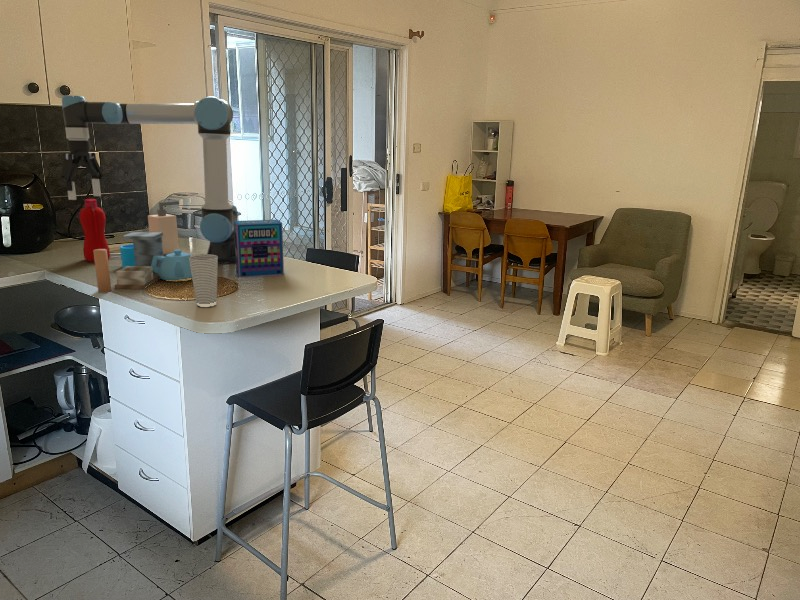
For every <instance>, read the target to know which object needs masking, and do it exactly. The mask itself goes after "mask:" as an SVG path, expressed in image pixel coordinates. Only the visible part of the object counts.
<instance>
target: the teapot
mask: <svg viewBox="0 0 800 600" xmlns="http://www.w3.org/2000/svg"><path fill="white" fill-rule="evenodd" d="M190 256H192V255H191V254H190V253H189V252H183V250H182V249H180V248H179V249H177V250H174V253H169V254H165V256H163V257H162V256H155V255H154V256H153V260H152V264H151V266H152V268H153V271H154V272H156V273H157V274H158V275H159V276H160V277H161V278H160V279H161V280H163V281H164V280H179V279H187V278H192V274H191V268H190V262H189V257H190ZM157 260H162V263H161V265H160V268H159V267H157V266H156V263H157Z"/></svg>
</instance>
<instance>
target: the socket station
mask: <svg viewBox="0 0 800 600" xmlns="http://www.w3.org/2000/svg"><path fill="white" fill-rule="evenodd" d="M162 236H163V233H156V232H149V231H147V232H146V231H145V232H144V231H131V232H129V233H126V234H124V235H122V240H129V241H131V240H132V244H133V246H134V256H135V266H126V267H124V268H123V267H122V268H120V269H118V270H116V271H115V277H116V278H115V279H116V284H115V285H114V289H117V290H118V289H119V290H127V289H128V290H145V289H146V288H145V287H146V286H148V285H149V284H151V283H153V282H154V283H156V282H157V281H159V280H161V279H162V278H161V277H160V276H159V275H158V274H157V273H156V272H154V271H153V268H152V266H151V264H152V260H153V256H154V255H155V256H162V257H164V254H163V246H162ZM161 263H162V260H157V263H156V266H157V267H159V268H160V265H161ZM158 279H159V280H158ZM155 281H156V282H155ZM154 283H153V284H154ZM151 285H152V284H151ZM148 287H149V286H148ZM144 288H145V289H144Z"/></svg>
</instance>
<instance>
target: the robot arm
mask: <svg viewBox="0 0 800 600" xmlns="http://www.w3.org/2000/svg"><path fill="white" fill-rule="evenodd" d="M61 107H62V108H61V110H62V114H63V115H62V116H63V121H64V127H65V128H64V129H65V137H66V139H67V140H66V146H67V150H68V151H69V152H70V153H64V154H63V163H62V168H61V173H60V177H59V179H60V180H61V181H62V182H65V187H66V191H67V198H68V200H69V201H71V200H72V201H76V200H77V192H76V186H75V185H76V184H75V181H74V178H75V176H76V173H77V171H78V168H80V167H81V166H82V167H85V168H86V170H87V171H88V173H89V174H90V176H91V177H92V178H91V184H92V185H91V186H92V193H93V197H101V196H102V193H101V180H102V179H103V177H104V173H103V170H102V168H101V167H100V164H99V162H98V160H97V157H96V154H95V152H91V150H92V148H91V142H90V140H89V139H90V132H89V126H88V124H107V125H108V124H109V125H135V124H136V125H137V124H138V125H139V124H140V125H141V124H142V125H144V124H145V125H149V124H150V125H156V124H157V125H197V134H198V135H199V137H201V138H202V149H203V150H202V151H203V155H202V157H203V175H204V176H203V179H204V180H203V181H204V204H202V205H201V206H200V207H201V220H200V223H199V231H200V233H201V235H202V237H204V239H205V240H207V241H208V242H209V244H208V248H207V252H206V254H212V255H216V256H218V264H234V263H236V257H235V239H234V221H239V220H238V209H237V207H236V205H231V204H230V203H229V183H228V182H229V181H228V152H227V151H228V150H227V149H228V148H227V145H228V144H227V139H229V137H230V136H231V123H232V121H233V117H234V111H233V108H232V106H231V105H230V104H229V103H228V102H227V101H226V100H225V99H223V98H220V97H219V96H218V97H217V96H213V95H211V96H210V95H209V96H206V97H202V99H200V100H197V101H195V103H118V102H112V101H86V99H85V97H84V96H83V95H71V94H67V95H63V96H62V97H61ZM89 151H90V152H89Z"/></svg>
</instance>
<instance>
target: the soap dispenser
mask: <svg viewBox="0 0 800 600" xmlns="http://www.w3.org/2000/svg"><path fill="white" fill-rule="evenodd" d="M174 205H175V206H176V205H177V206H178V205H180V201H179V200H169V201H159V202H158V207H159V209H157V211H156V212H157V214H150V215H147V222H148V232H156V233H163V236H162V246H163V255H167V254H170V253H174V250H177V249H179V250H180V246H179V235H178V234H179V233H178V222H177V215H174V214H169V213H167V211H166V209H164V207H165V206H166V207H167V206H174Z"/></svg>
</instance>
